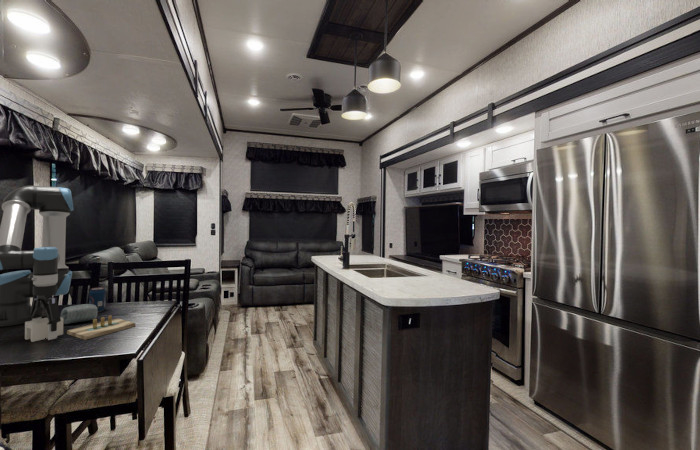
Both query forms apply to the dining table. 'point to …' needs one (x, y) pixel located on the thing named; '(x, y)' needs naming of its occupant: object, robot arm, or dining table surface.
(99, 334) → the wooden peg board
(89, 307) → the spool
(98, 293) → the soda can
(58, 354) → the dining table surface
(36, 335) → the white block
